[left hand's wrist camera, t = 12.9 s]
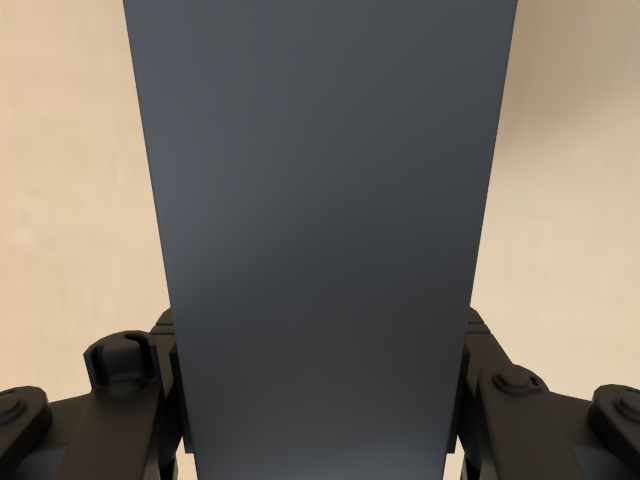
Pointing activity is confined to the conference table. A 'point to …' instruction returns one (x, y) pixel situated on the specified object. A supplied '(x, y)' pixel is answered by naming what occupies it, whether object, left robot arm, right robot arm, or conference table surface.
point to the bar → (320, 221)
